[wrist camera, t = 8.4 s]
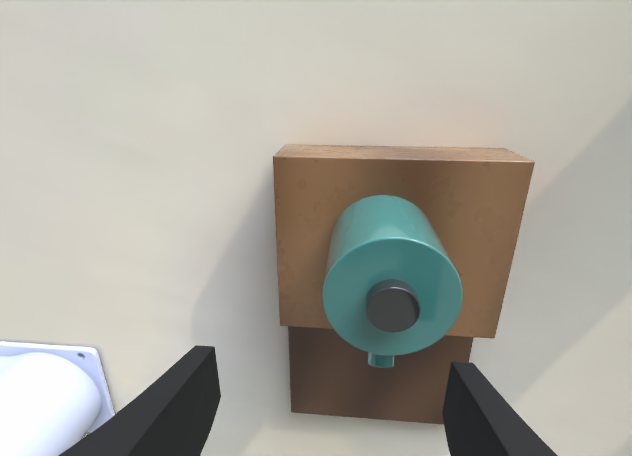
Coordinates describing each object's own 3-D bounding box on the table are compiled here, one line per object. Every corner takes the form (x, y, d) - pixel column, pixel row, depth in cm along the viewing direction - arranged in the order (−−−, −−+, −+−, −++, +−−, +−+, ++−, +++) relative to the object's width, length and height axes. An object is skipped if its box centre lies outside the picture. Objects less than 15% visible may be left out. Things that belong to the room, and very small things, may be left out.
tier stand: (292, 403, 26) (284, 445, 23) (285, 144, 19) (272, 156, 16) (452, 415, 25) (466, 461, 22) (505, 148, 18) (535, 161, 15)
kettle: (330, 193, 16) (321, 242, 11) (440, 196, 16) (480, 248, 11) (328, 316, 19) (319, 401, 14) (423, 321, 18) (449, 410, 13)
